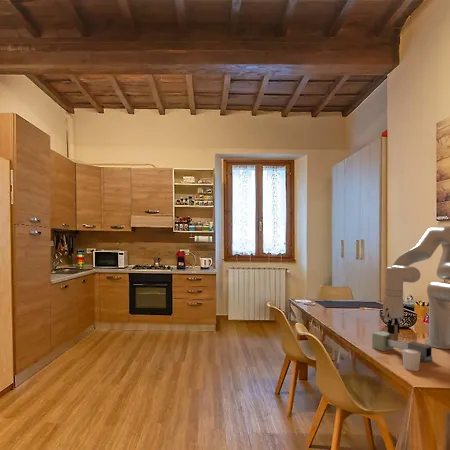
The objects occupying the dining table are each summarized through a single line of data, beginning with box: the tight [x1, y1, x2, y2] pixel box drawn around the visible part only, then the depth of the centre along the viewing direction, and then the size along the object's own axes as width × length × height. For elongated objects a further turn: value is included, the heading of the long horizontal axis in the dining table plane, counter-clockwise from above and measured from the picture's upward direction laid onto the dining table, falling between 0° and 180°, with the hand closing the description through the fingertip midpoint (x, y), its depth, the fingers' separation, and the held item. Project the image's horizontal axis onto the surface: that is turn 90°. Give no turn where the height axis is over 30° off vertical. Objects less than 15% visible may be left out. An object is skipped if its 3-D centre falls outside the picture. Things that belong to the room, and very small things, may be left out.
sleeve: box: [408, 341, 433, 364], centre depth 169 cm, size 6×8×6 cm
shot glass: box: [401, 349, 421, 372], centre depth 157 cm, size 7×7×7 cm
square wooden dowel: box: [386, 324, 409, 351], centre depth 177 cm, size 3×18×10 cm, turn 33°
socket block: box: [371, 330, 395, 352], centre depth 184 cm, size 8×6×7 cm
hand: (393, 332), depth 180 cm, fingers closed on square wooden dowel, 3 cm apart
